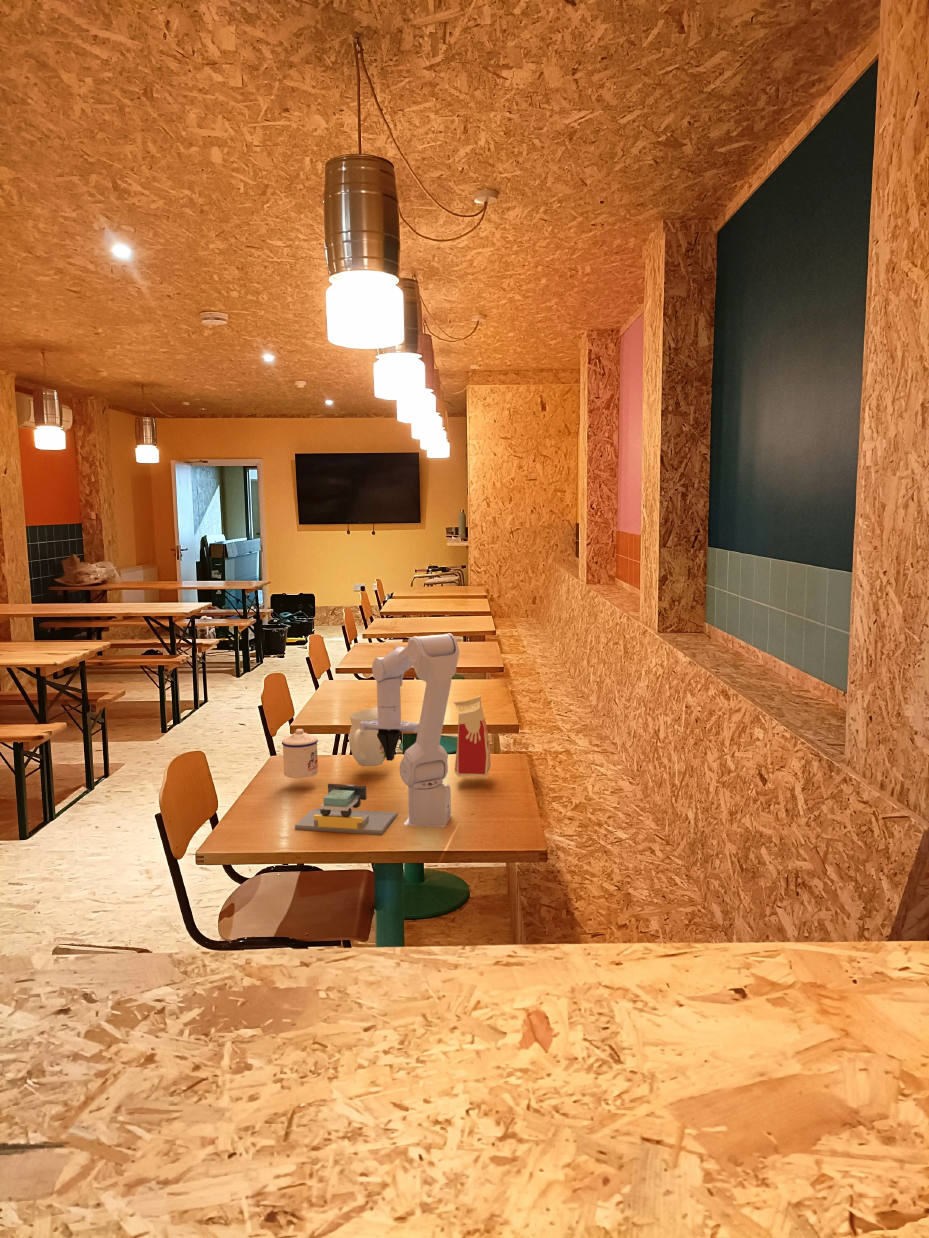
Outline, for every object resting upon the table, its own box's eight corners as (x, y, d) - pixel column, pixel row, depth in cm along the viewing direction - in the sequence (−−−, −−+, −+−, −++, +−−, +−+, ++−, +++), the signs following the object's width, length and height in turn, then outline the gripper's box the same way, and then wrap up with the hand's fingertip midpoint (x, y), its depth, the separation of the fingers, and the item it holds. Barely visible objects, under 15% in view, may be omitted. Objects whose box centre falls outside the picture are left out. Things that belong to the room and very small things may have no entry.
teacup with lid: (315, 778, 202) (313, 733, 200) (279, 779, 202) (277, 734, 200) (323, 764, 214) (322, 722, 212) (289, 765, 214) (288, 722, 212)
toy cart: (367, 805, 182) (366, 785, 181) (353, 819, 173) (352, 798, 172) (329, 803, 184) (329, 783, 183) (314, 817, 175) (313, 795, 174)
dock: (397, 814, 185) (397, 800, 185) (381, 834, 173) (381, 819, 173) (316, 809, 189) (315, 795, 189) (295, 829, 177) (294, 814, 177)
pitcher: (336, 772, 207) (335, 720, 205) (362, 753, 224) (361, 705, 222) (376, 775, 204) (375, 722, 202) (399, 755, 221) (398, 707, 220)
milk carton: (490, 766, 210) (490, 692, 208) (488, 777, 201) (487, 699, 199) (456, 766, 211) (455, 691, 209) (452, 777, 202) (451, 699, 199)
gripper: (421, 702, 198) (422, 756, 199) (365, 701, 201) (367, 753, 202) (414, 709, 191) (415, 764, 193) (356, 707, 194) (358, 761, 195)
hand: (390, 759), depth 197 cm, fingers closed
